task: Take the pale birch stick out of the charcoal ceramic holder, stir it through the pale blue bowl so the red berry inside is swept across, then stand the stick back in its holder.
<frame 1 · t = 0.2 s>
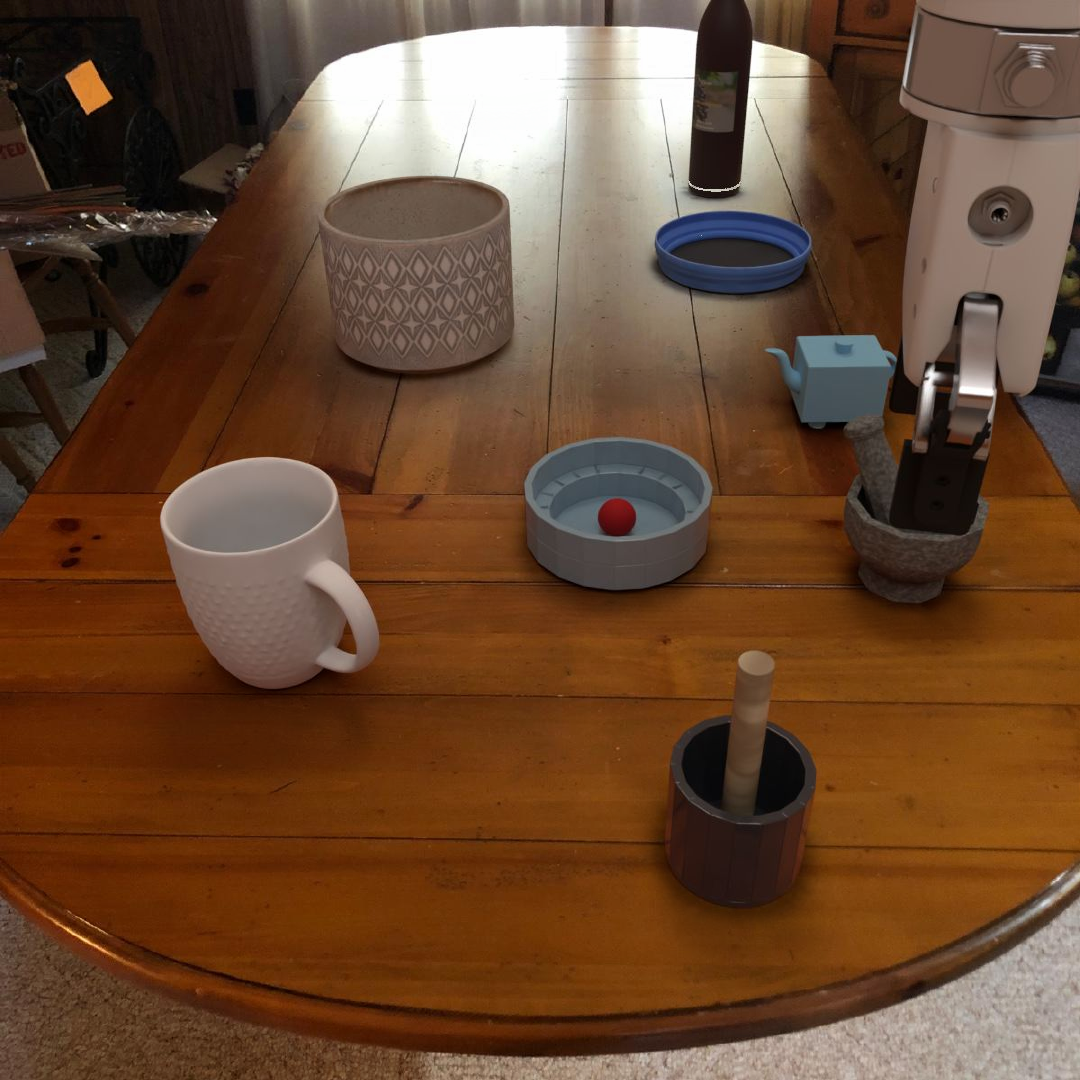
hand: (924, 466, 50), 24 cm above the table, tool pointing down, fingers open, 9 cm apart
bowl: (730, 267, 130), on the table
planter: (426, 343, 115), on the table
wine bottle: (713, 191, 151), on the table
mixing bowl: (616, 538, 87), on the table
teapot: (822, 415, 101), on the table
stick: (733, 844, 62), resting on holder
berry: (617, 517, 85), point 2 cm above the table, touching mixing bowl
mortar and pestle: (891, 575, 82), on the table
mug: (294, 665, 76), on the table
holder: (732, 850, 62), on the table
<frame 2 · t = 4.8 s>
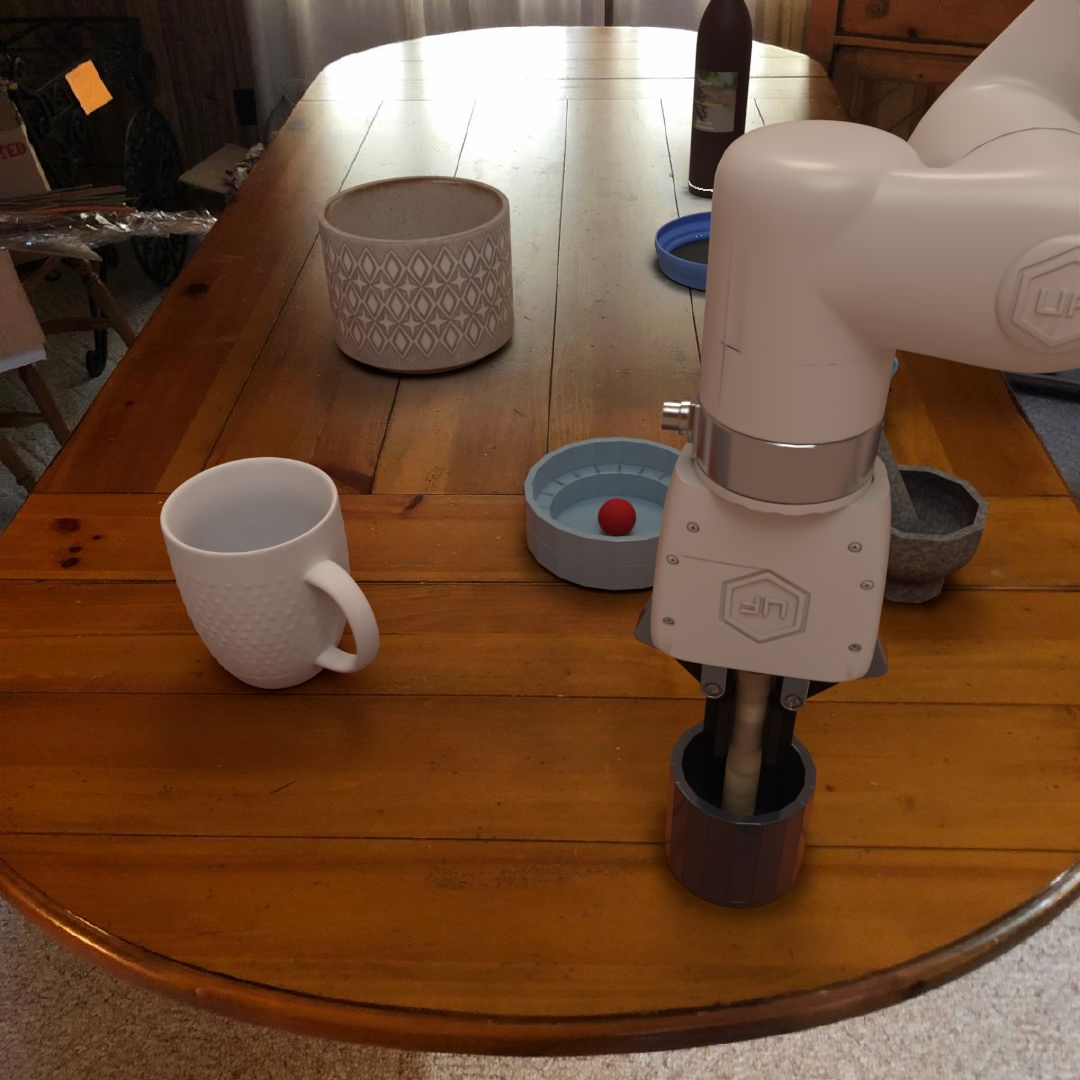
hand: (746, 739, 57), 9 cm above the table, tool pointing down, fingers closed on stick, 1 cm apart
stick: (733, 844, 62), point 1 cm above the table, touching gripper
everything else where it was.
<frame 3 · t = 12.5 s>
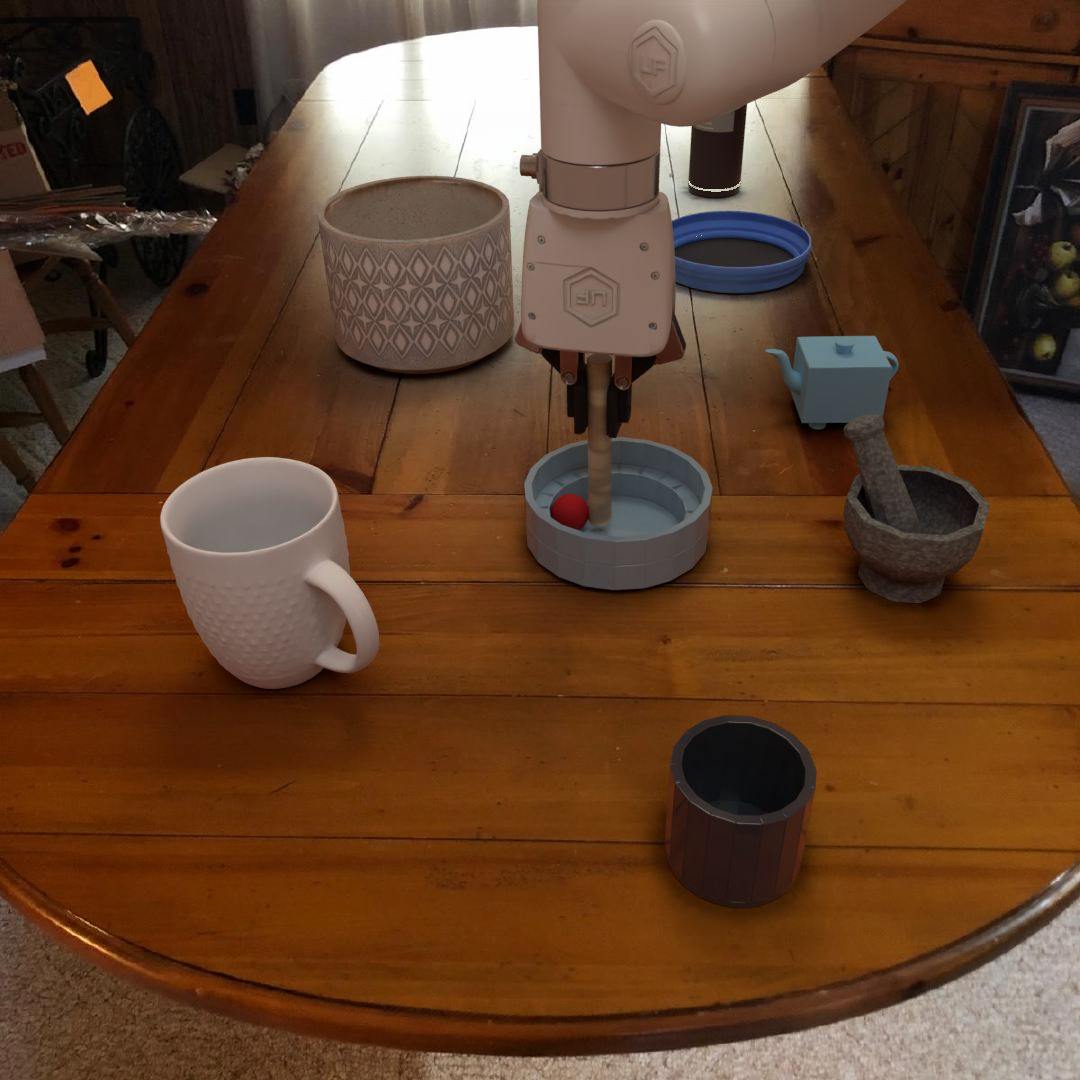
hand: (599, 425, 81), 10 cm above the table, tool pointing down, fingers closed on stick, 1 cm apart
stick: (599, 520, 86), point 2 cm above the table, touching berry, gripper
berry: (570, 512, 86), point 2 cm above the table, tilted 139°, touching mixing bowl, stick
everything else where it was.
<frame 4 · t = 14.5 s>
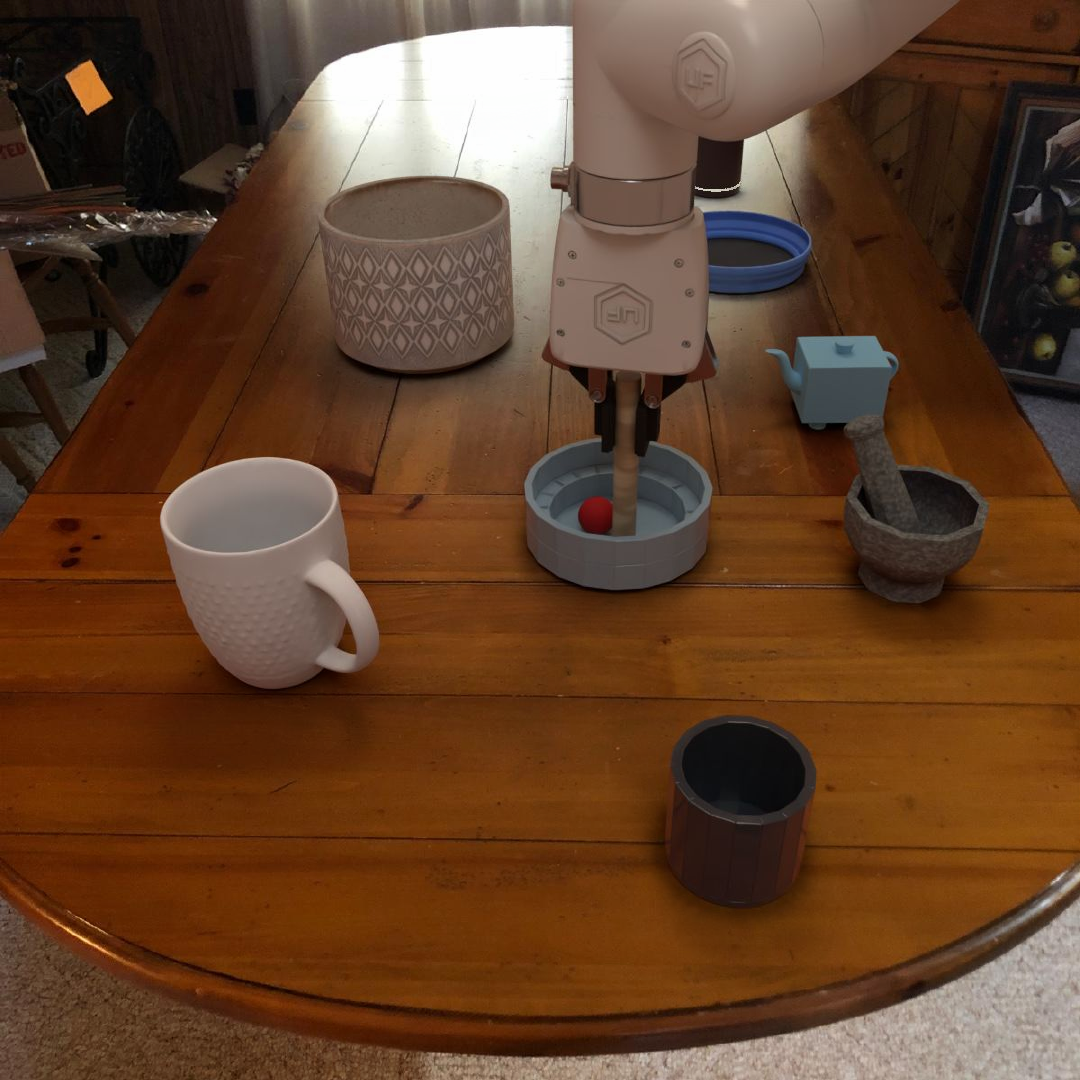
hand: (626, 443, 79), 10 cm above the table, tool pointing down, fingers closed on stick, 1 cm apart
stick: (623, 539, 84), point 2 cm above the table, touching gripper
berry: (597, 515, 86), point 2 cm above the table, tilted 58°, touching mixing bowl
everything else where it was.
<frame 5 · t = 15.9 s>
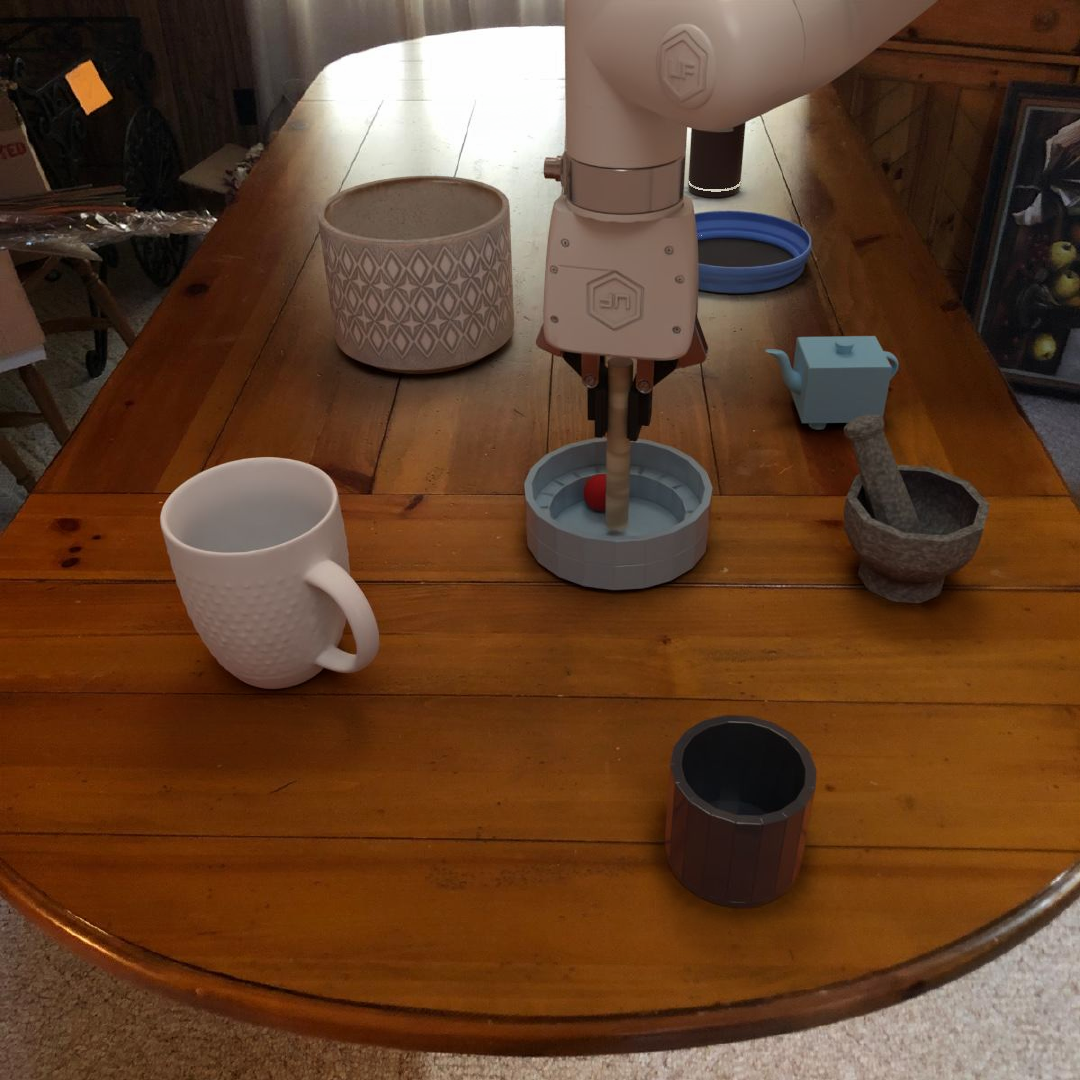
hand: (619, 428, 81), 10 cm above the table, tool pointing down, fingers closed on stick, 1 cm apart
stick: (616, 523, 86), point 1 cm above the table, touching gripper
berry: (602, 492, 88), point 2 cm above the table, tilted 128°, touching mixing bowl
everything else where it was.
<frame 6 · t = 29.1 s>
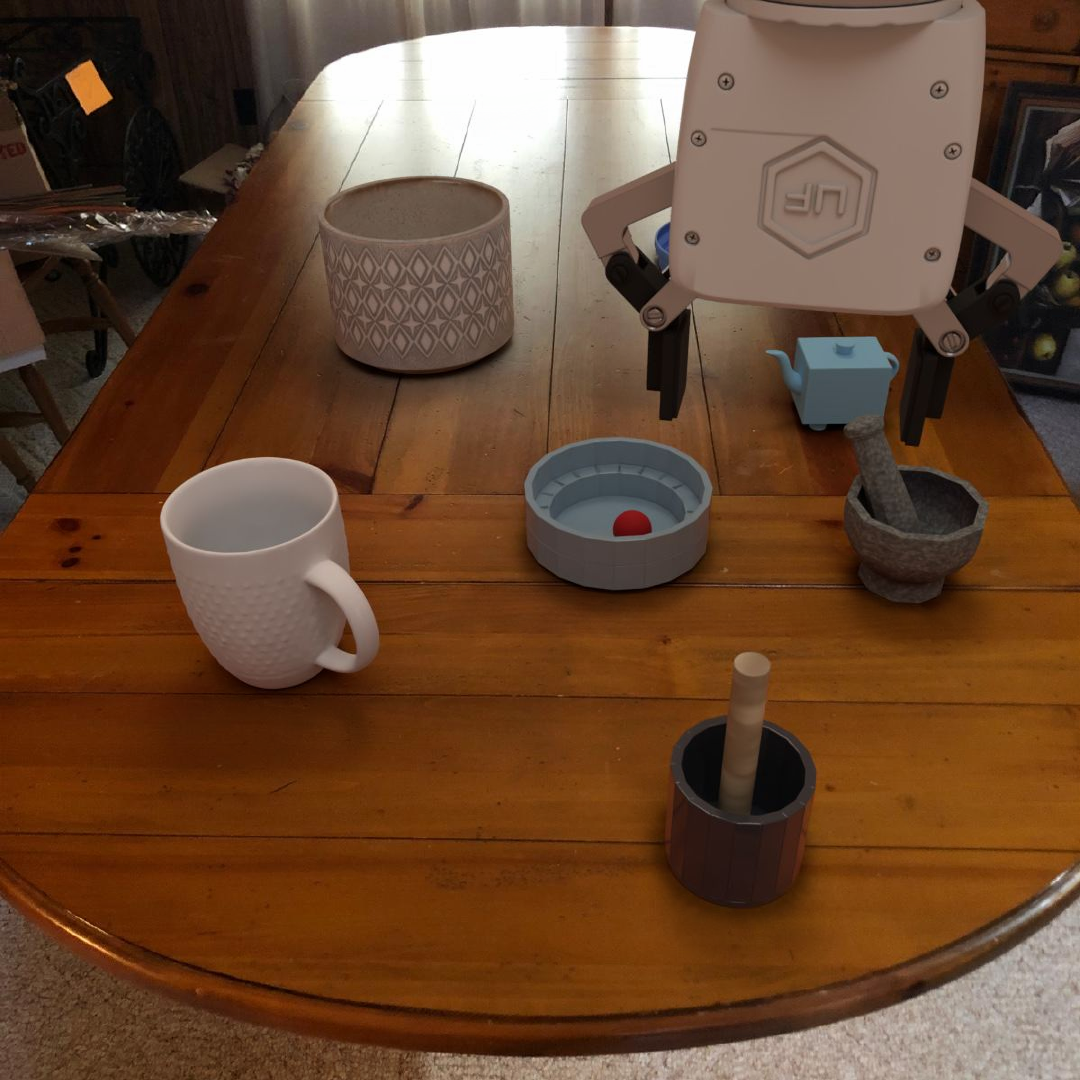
hand: (788, 416, 45), 28 cm above the table, tool pointing down, fingers open, 9 cm apart
stick: (729, 846, 62), resting on holder
berry: (632, 529, 84), point 2 cm above the table, tilted 82°, touching mixing bowl
everything else where it was.
at the end: berry moved 2.0 cm from its start; berry inside the target area in the mixing bowl (1.9 cm from its centre), point 2.0 cm above the mixing bowl's base; stick 0.2 cm off-centre in the holder, point 0.5 cm above the holder's base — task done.
